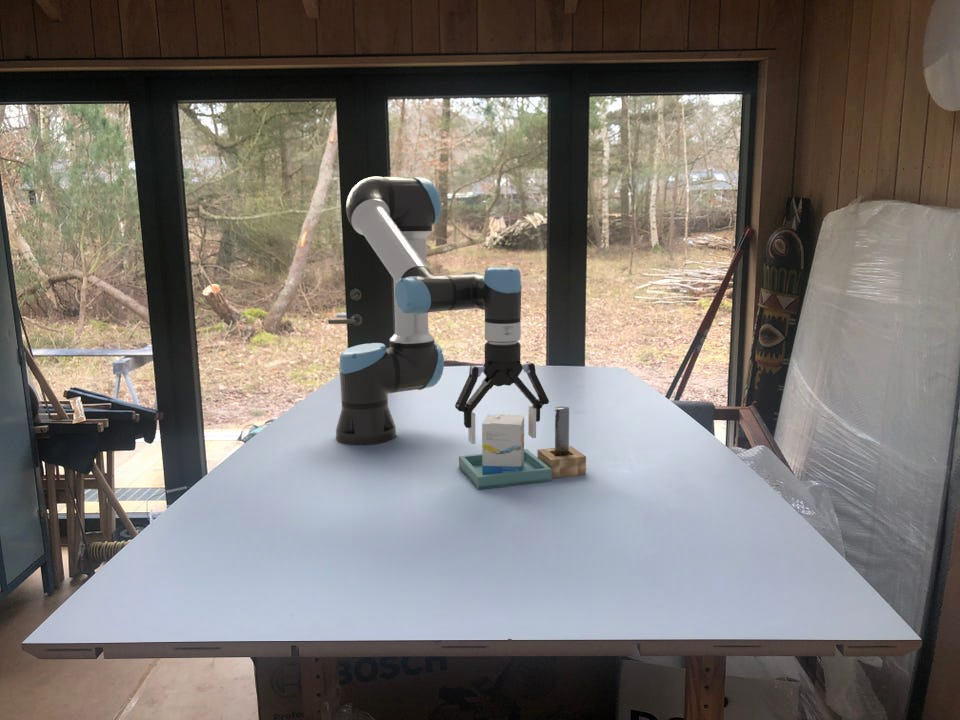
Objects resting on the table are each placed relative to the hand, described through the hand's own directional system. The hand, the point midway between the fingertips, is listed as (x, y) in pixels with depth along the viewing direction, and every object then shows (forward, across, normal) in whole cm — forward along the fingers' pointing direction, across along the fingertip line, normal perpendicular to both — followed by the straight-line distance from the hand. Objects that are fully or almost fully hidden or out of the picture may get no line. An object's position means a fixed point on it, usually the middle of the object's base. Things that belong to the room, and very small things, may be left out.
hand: (502, 439), depth 163 cm
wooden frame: (+7, +13, -3) cm, 15 cm away
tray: (+8, 0, -1) cm, 8 cm away
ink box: (+7, 0, -1) cm, 7 cm away
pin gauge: (+7, +13, -3) cm, 15 cm away
